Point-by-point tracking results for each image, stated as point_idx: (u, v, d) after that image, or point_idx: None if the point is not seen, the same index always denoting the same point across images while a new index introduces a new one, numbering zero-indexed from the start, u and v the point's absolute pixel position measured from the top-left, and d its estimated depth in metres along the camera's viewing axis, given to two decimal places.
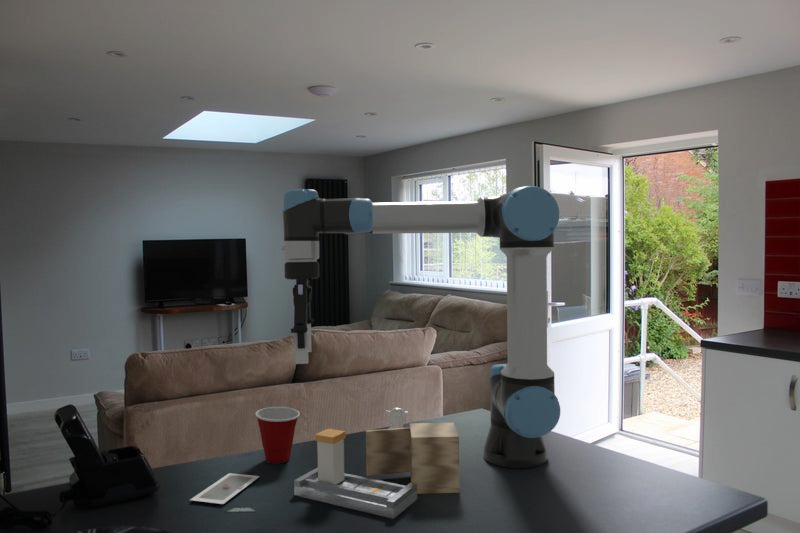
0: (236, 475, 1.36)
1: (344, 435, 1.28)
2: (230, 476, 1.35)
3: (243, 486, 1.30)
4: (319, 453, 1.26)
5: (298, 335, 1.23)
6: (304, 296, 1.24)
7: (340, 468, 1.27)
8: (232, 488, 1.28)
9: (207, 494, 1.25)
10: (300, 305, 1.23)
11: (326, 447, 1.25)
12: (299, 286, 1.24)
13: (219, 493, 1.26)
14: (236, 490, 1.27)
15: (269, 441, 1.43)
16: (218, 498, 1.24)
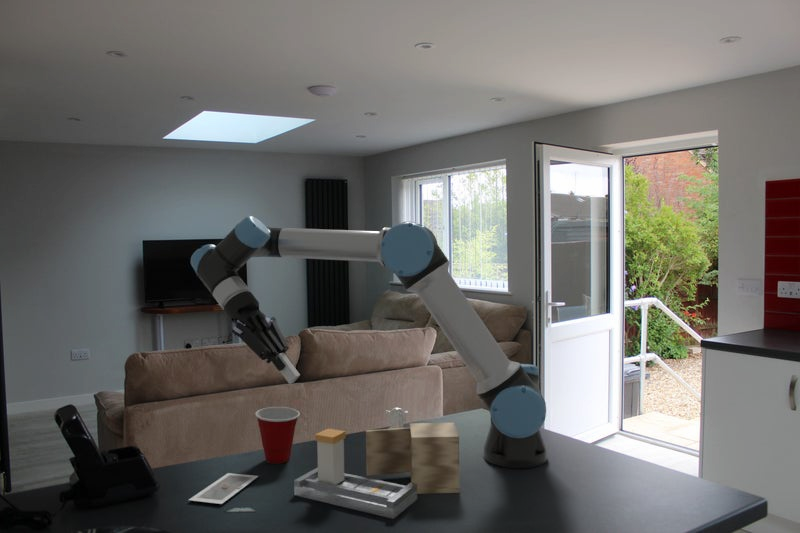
0: (234, 475, 1.36)
1: (344, 435, 1.28)
2: (229, 476, 1.35)
3: (242, 486, 1.30)
4: (319, 453, 1.26)
5: (272, 361, 1.32)
6: (245, 332, 1.31)
7: (340, 468, 1.27)
8: (230, 488, 1.28)
9: (206, 494, 1.26)
10: (249, 340, 1.31)
11: (326, 447, 1.25)
12: (234, 329, 1.31)
13: (218, 493, 1.26)
14: (234, 490, 1.27)
15: (269, 441, 1.43)
16: (217, 498, 1.24)
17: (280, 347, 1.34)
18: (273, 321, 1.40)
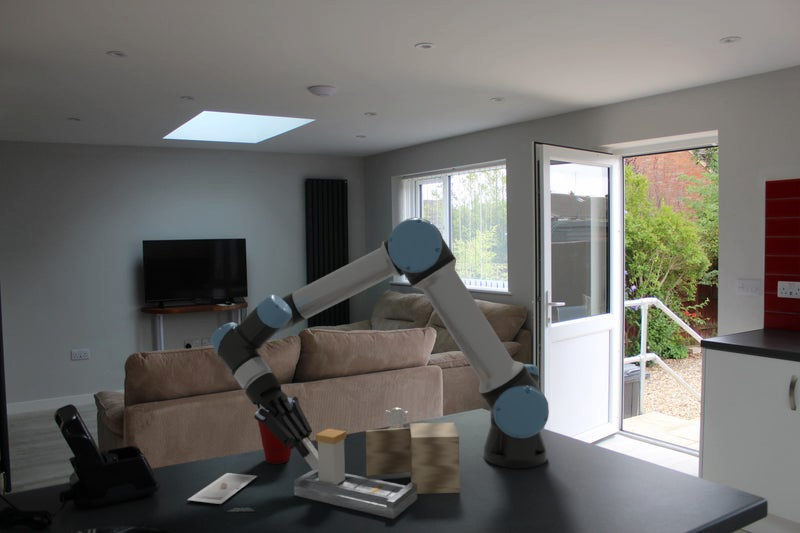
0: (233, 475, 1.36)
1: (344, 435, 1.28)
2: (228, 476, 1.35)
3: (241, 486, 1.30)
4: (319, 453, 1.26)
5: (296, 447, 1.29)
6: (268, 418, 1.29)
7: (340, 468, 1.27)
8: (229, 488, 1.29)
9: (205, 494, 1.26)
10: (272, 427, 1.29)
11: (326, 447, 1.25)
12: (257, 415, 1.29)
13: (216, 493, 1.26)
14: (233, 490, 1.28)
15: (269, 441, 1.43)
16: (215, 498, 1.24)
17: (303, 431, 1.32)
18: (295, 401, 1.38)
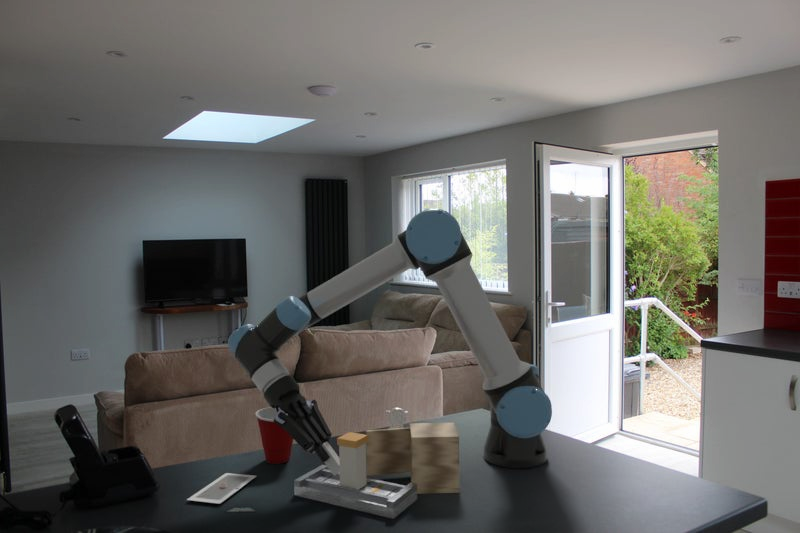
0: (233, 475, 1.36)
1: (366, 439, 1.25)
2: (227, 476, 1.35)
3: (240, 486, 1.30)
4: (341, 457, 1.24)
5: (316, 451, 1.27)
6: (287, 422, 1.26)
7: (362, 473, 1.24)
8: (229, 488, 1.29)
9: (204, 494, 1.26)
10: (292, 431, 1.26)
11: (348, 451, 1.23)
12: (277, 419, 1.26)
13: (216, 493, 1.26)
14: (233, 490, 1.28)
15: (269, 441, 1.43)
16: (215, 498, 1.24)
17: (323, 435, 1.29)
18: (314, 405, 1.35)
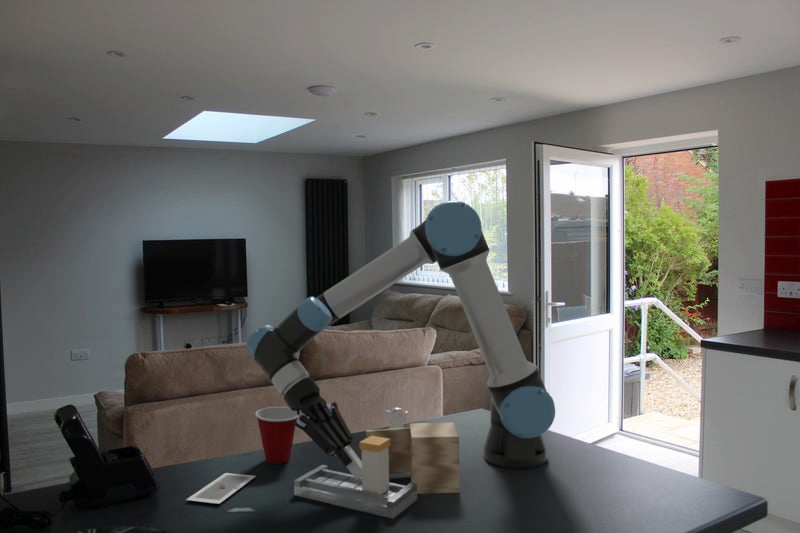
0: (232, 475, 1.36)
1: (389, 443, 1.22)
2: (226, 476, 1.35)
3: (239, 486, 1.30)
4: (363, 461, 1.21)
5: (338, 455, 1.24)
6: (309, 425, 1.23)
7: (385, 477, 1.22)
8: (228, 488, 1.29)
9: (204, 494, 1.26)
10: (314, 434, 1.23)
11: (371, 455, 1.20)
12: (298, 422, 1.23)
13: (215, 493, 1.26)
14: (232, 490, 1.28)
15: (269, 441, 1.43)
16: (214, 498, 1.24)
17: (345, 438, 1.27)
18: (334, 407, 1.32)
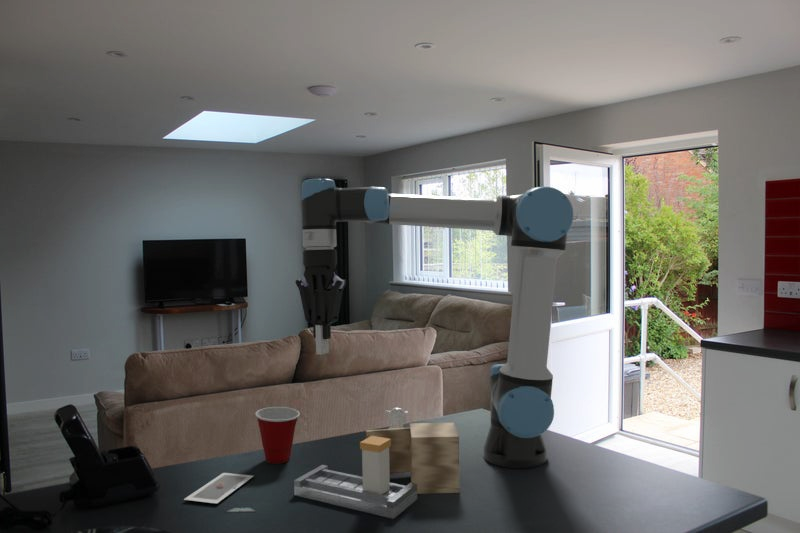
0: (230, 474, 1.36)
1: (390, 443, 1.22)
2: (224, 476, 1.36)
3: (237, 486, 1.30)
4: (364, 462, 1.21)
5: (327, 327, 1.33)
6: (341, 291, 1.32)
7: (386, 477, 1.22)
8: (226, 488, 1.29)
9: (201, 494, 1.26)
10: (338, 300, 1.32)
11: (371, 456, 1.20)
12: (342, 283, 1.31)
13: (213, 493, 1.26)
14: (230, 490, 1.28)
15: (269, 441, 1.43)
16: (212, 497, 1.24)
17: None
18: None
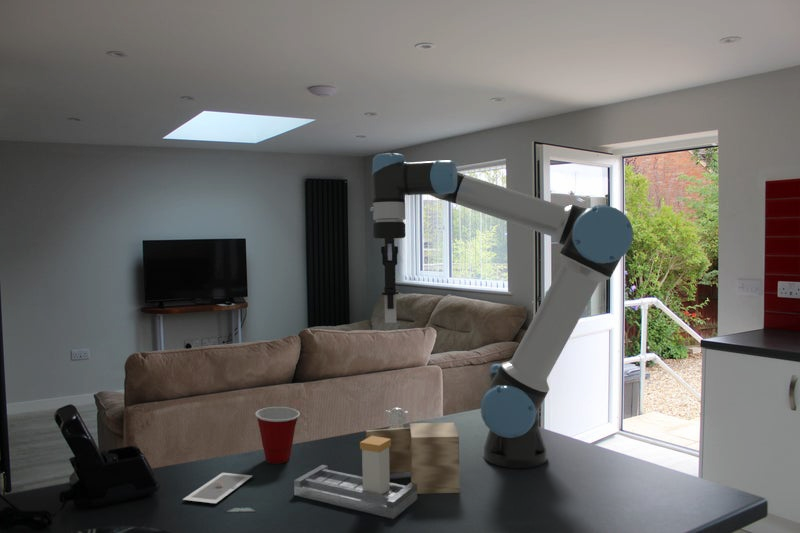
0: (229, 474, 1.36)
1: (390, 443, 1.22)
2: (223, 476, 1.36)
3: (236, 485, 1.30)
4: (364, 462, 1.21)
5: (388, 297, 1.38)
6: (393, 262, 1.34)
7: (386, 477, 1.22)
8: (225, 488, 1.29)
9: (200, 494, 1.26)
10: (390, 271, 1.35)
11: (371, 456, 1.20)
12: (389, 254, 1.33)
13: (212, 493, 1.26)
14: (229, 490, 1.28)
15: (269, 441, 1.43)
16: (211, 497, 1.24)
17: None
18: None
